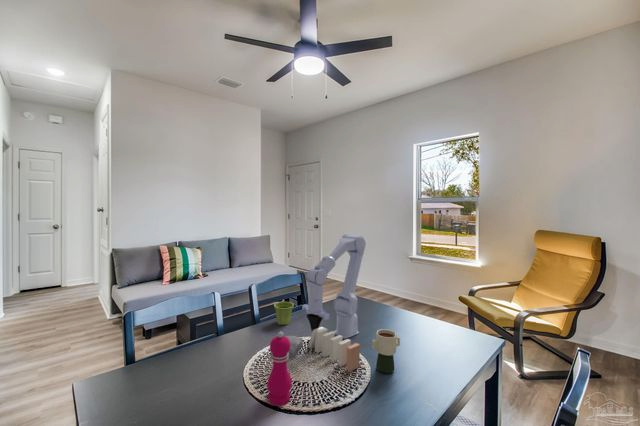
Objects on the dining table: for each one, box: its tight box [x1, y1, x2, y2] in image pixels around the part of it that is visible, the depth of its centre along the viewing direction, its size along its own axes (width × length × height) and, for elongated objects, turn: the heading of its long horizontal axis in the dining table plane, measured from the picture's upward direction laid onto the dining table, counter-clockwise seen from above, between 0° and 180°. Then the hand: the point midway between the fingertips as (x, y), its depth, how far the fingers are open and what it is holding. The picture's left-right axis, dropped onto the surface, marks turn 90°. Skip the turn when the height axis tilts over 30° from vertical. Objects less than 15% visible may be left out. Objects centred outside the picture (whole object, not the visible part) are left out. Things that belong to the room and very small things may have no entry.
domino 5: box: [337, 338, 352, 367], centre depth 108 cm, size 5×2×8 cm, turn 132°
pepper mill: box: [266, 331, 293, 406], centre depth 87 cm, size 7×7×20 cm
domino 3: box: [321, 331, 336, 358], centre depth 114 cm, size 5×2×8 cm, turn 132°
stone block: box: [285, 335, 304, 359], centre depth 117 cm, size 12×5×10 cm
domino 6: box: [345, 342, 361, 372], centre depth 104 cm, size 5×2×8 cm, turn 132°
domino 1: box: [307, 326, 324, 350], centre depth 119 cm, size 5×2×8 cm, turn 132°
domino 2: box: [314, 327, 329, 354], centre depth 117 cm, size 5×2×8 cm, turn 132°
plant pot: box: [273, 301, 295, 326], centre depth 143 cm, size 9×9×9 cm
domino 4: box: [329, 335, 344, 363], centre depth 111 cm, size 5×2×8 cm, turn 132°
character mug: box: [371, 328, 401, 374], centre depth 104 cm, size 11×7×13 cm, turn 107°
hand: (314, 331), depth 120 cm, fingers closed
